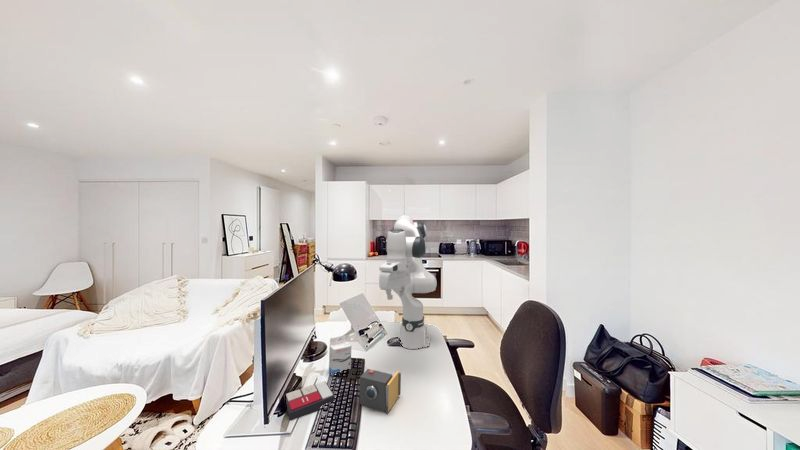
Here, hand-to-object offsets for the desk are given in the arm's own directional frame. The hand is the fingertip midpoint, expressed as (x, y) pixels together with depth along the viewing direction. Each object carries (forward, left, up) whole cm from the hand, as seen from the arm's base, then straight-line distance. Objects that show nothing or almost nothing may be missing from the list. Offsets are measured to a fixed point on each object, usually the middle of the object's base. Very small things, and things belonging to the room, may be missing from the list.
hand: (396, 297), depth 116 cm
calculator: (+30, -21, -34) cm, 50 cm away
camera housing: (+21, +1, -33) cm, 39 cm away
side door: (+19, +7, -33) cm, 39 cm away
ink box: (+8, -23, -33) cm, 41 cm away
